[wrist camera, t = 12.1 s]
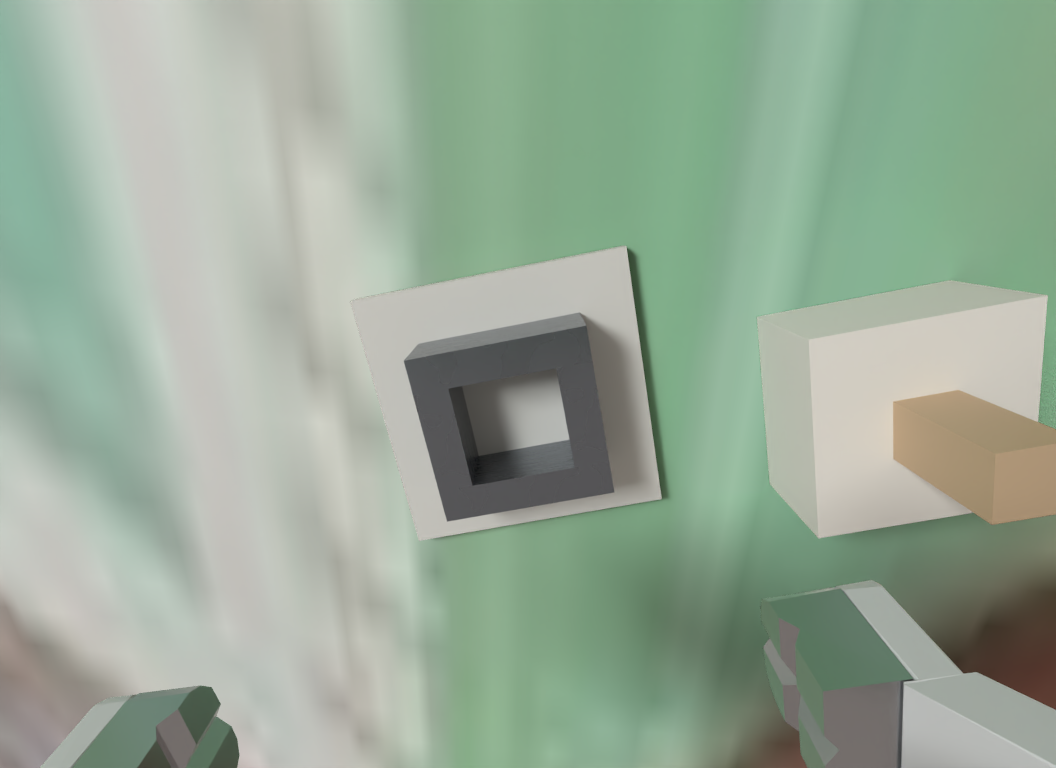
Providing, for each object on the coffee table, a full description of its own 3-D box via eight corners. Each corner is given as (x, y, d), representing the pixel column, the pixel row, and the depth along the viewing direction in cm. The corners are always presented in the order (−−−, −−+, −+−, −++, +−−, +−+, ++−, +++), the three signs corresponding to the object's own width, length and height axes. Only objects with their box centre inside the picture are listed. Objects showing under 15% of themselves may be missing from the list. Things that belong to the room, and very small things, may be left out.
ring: (418, 343, 20) (403, 360, 18) (579, 312, 20) (586, 325, 18) (455, 488, 22) (447, 521, 20) (605, 461, 22) (614, 492, 19)
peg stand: (756, 316, 21) (891, 376, 13) (949, 280, 20) (1204, 319, 13) (769, 483, 23) (892, 620, 15) (945, 453, 22) (1163, 578, 15)
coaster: (355, 298, 20) (349, 301, 20) (623, 245, 20) (626, 246, 19) (421, 532, 23) (419, 540, 23) (658, 491, 23) (661, 499, 22)
